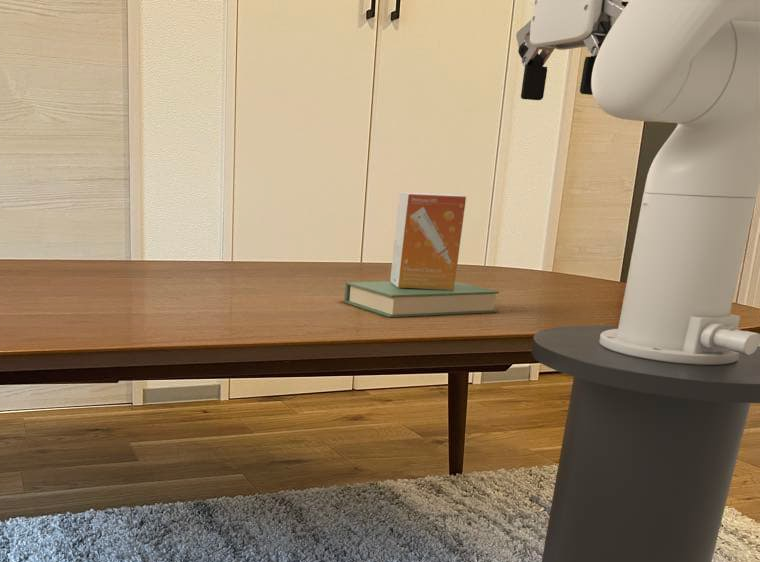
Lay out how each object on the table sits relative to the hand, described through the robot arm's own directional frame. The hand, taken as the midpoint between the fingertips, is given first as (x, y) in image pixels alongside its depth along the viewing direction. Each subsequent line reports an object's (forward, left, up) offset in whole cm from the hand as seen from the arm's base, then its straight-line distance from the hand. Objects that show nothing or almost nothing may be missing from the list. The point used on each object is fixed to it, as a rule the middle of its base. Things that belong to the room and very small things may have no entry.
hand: (560, 97), depth 96 cm
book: (+13, +8, -28) cm, 32 cm away
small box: (+13, +8, -26) cm, 30 cm away
